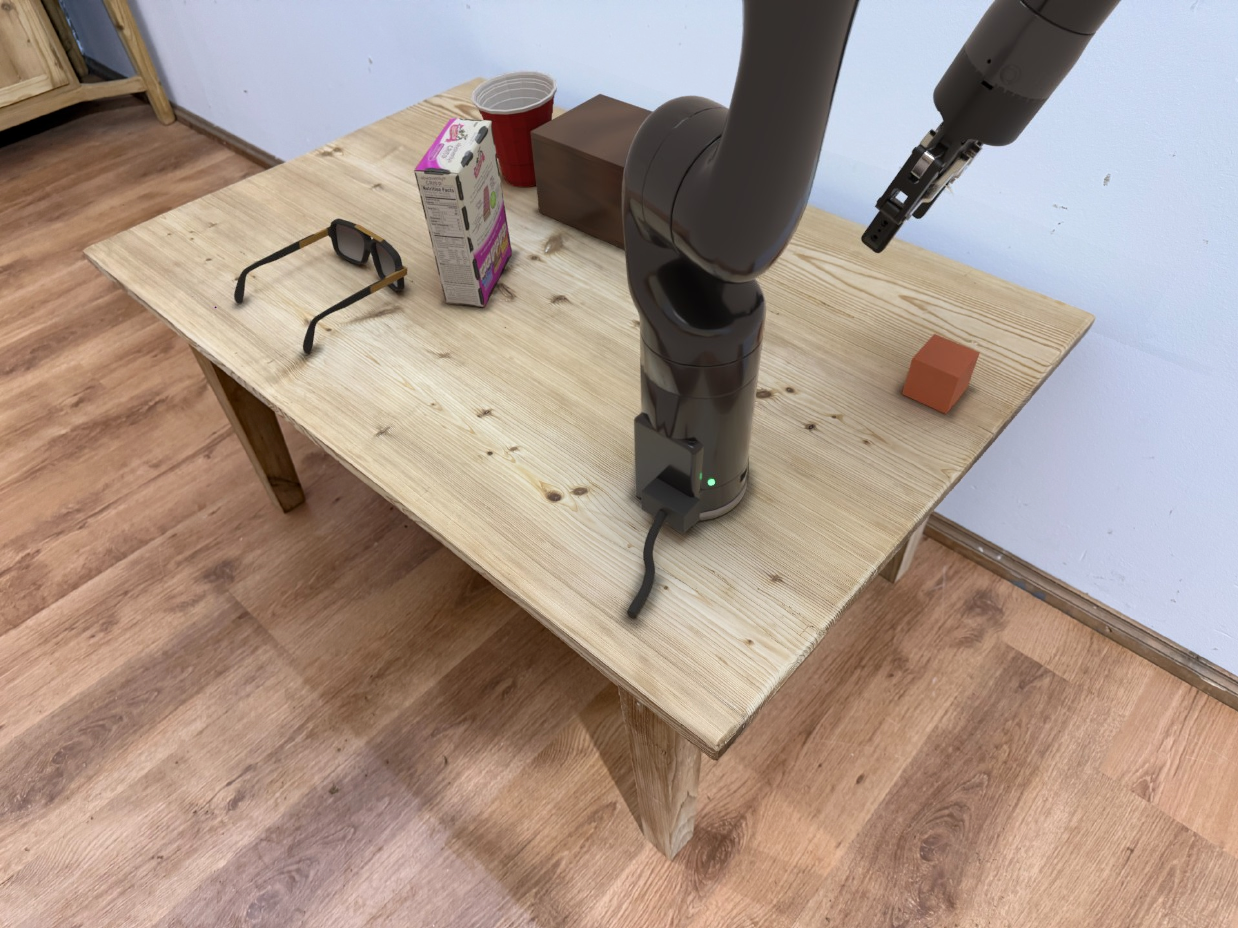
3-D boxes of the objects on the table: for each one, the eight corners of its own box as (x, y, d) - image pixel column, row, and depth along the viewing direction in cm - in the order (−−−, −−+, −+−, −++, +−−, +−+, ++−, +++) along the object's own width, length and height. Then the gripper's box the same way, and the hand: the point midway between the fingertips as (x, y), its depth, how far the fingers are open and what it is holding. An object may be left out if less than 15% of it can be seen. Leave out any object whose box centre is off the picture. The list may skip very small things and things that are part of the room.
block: (946, 414, 81) (959, 378, 77) (901, 394, 83) (912, 358, 79) (966, 388, 83) (980, 352, 80) (923, 369, 85) (934, 333, 82)
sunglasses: (236, 304, 96) (220, 266, 92) (348, 246, 103) (336, 209, 100) (306, 356, 89) (291, 317, 86) (420, 290, 97) (411, 252, 93)
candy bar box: (473, 249, 102) (449, 116, 90) (513, 253, 101) (494, 119, 89) (441, 305, 95) (411, 167, 83) (484, 309, 94) (459, 171, 82)
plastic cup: (477, 165, 116) (462, 76, 107) (553, 151, 118) (545, 63, 109) (492, 204, 109) (478, 112, 100) (574, 189, 111) (567, 98, 102)
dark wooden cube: (691, 206, 107) (694, 125, 99) (628, 251, 101) (626, 168, 93) (603, 172, 114) (599, 93, 106) (539, 212, 107) (530, 131, 100)
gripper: (1003, 16, 68) (892, 179, 81) (933, 57, 60) (821, 231, 72) (1080, 70, 67) (955, 227, 80) (1020, 119, 58) (890, 286, 71)
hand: (891, 229), depth 76 cm, fingers open, 8 cm apart
